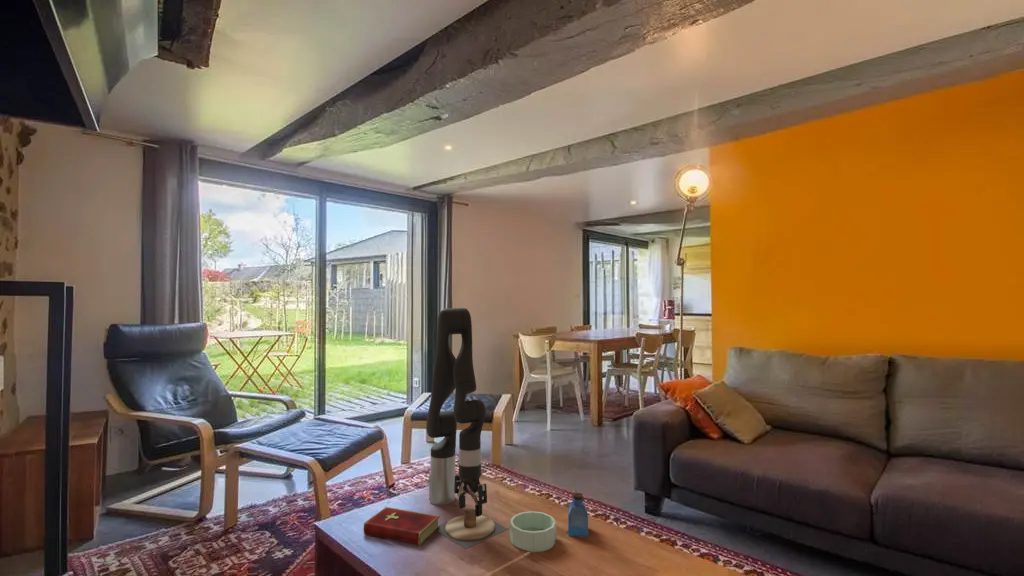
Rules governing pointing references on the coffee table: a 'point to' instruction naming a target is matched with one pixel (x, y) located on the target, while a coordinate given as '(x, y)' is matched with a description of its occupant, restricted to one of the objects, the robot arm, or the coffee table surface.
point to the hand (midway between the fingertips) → (470, 511)
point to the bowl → (533, 531)
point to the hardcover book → (402, 526)
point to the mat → (467, 544)
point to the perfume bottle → (577, 517)
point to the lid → (469, 526)
